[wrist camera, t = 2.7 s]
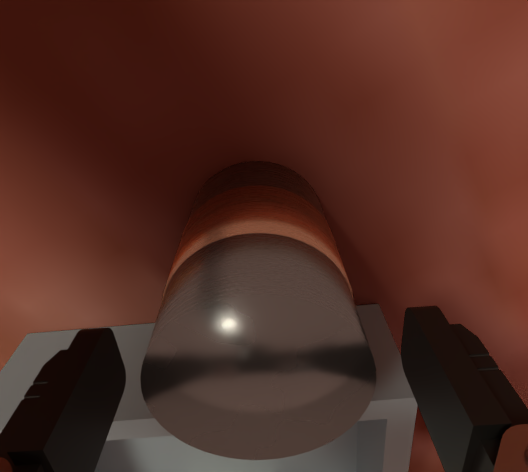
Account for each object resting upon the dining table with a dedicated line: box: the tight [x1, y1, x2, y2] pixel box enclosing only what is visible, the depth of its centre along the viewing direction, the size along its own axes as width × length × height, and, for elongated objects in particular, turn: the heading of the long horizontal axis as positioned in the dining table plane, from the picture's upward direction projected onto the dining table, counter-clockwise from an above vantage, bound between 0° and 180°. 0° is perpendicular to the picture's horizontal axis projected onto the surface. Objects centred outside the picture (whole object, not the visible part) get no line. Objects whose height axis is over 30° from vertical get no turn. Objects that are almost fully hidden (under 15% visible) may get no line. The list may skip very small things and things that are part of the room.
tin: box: [140, 161, 376, 460], centre depth 12 cm, size 5×5×8 cm
